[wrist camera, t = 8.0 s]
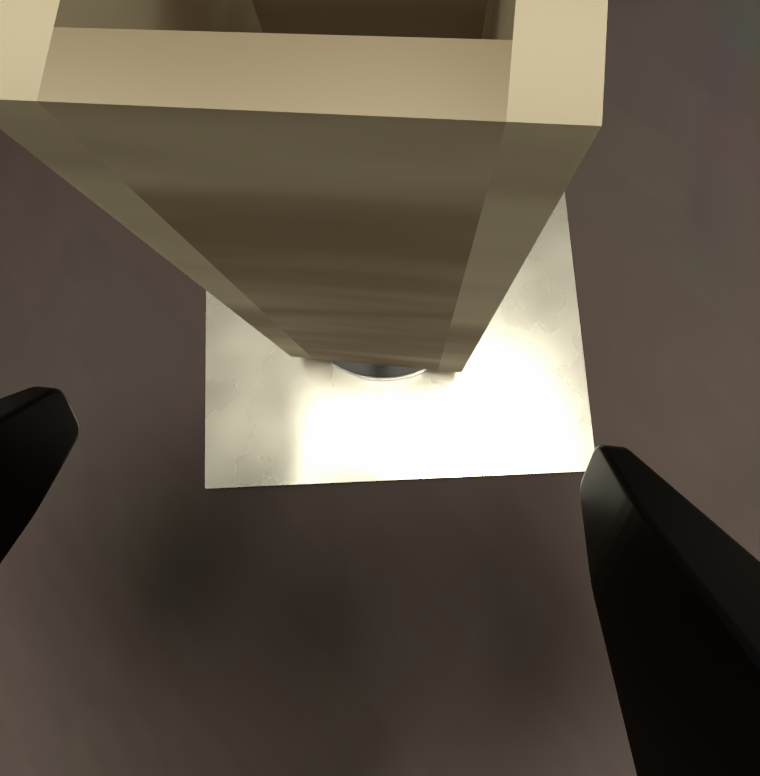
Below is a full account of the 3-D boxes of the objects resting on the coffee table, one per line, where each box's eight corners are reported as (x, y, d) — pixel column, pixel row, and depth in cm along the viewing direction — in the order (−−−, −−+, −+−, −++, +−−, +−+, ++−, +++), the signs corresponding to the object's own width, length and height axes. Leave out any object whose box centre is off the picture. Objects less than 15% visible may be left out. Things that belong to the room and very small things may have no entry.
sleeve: (461, 372, 16) (600, 126, 4) (290, 356, 16) (-41, 97, 4) (475, 209, 17) (627, -408, 5) (312, 199, 17) (80, -377, 5)
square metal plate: (590, 470, 16) (678, 478, 11) (211, 487, 17) (117, 503, 12) (550, 118, 19) (607, -24, 13) (213, 151, 19) (133, 31, 14)
